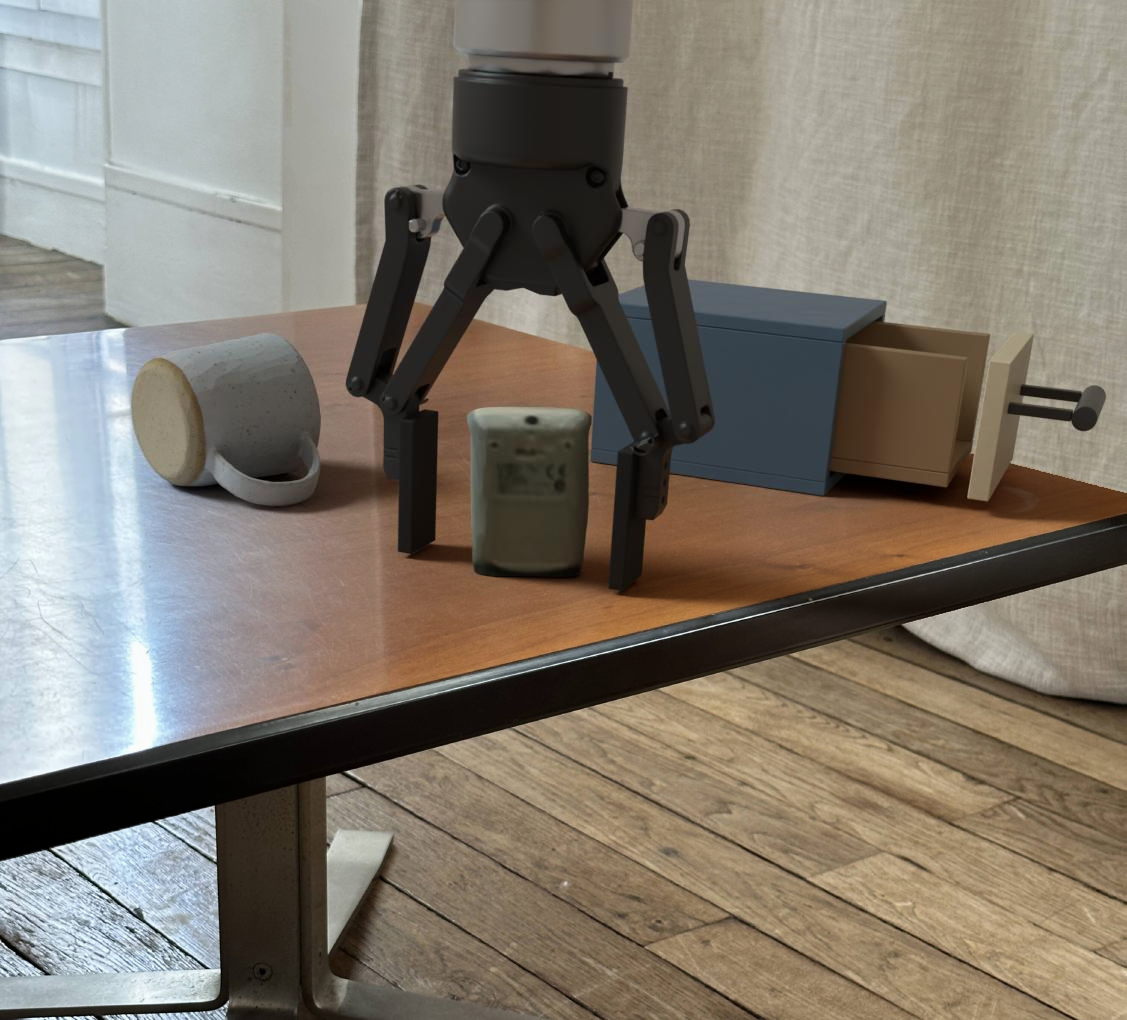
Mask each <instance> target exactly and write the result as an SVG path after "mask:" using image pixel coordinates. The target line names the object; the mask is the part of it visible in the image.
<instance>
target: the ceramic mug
mask: <svg viewBox="0 0 1127 1020" xmlns="http://www.w3.org/2000/svg"><path fill="white" fill-rule="evenodd" d="M317 391H318V390H317V387H316V385H315V381H314V378H313V376H312V374H311V372H310V368H309V366H308V365H307V364H306V362H305V360H304V358H303V357H302V355H301V354H300V352H299V351H298V350H297V349H296V347H295V346H294V345H293V344H292V343H291V342H290V341H289V340H287V338H285V337H283V336H281V335H280V334H276V333H271V332H262V333H258V334H254V335H253V334H252V335H249V336H243V337H237V338H234V339H228V340H223V341H220V342H219V341H218V342H215V343H210V344H205V345H200V346H195V347H187V348H182V349H176V350H172V351H170V352H167V353H164V354H162V355H159V356H156V357H155V358H151V360H148V361H147V362H146V363H144V364H143V366H141V367H140V368H139V371H138V373H137V374H136V376H135V379H134V382H133V386H132V391H131V397H130V398H131V399H130V412H131V421H132V425H133V431H134V435H135V437H136V440H137V444H138V446H139V448H140V450H141V452H142V455H143V456H144V458H145V460H146V462H147V463H148V465H149V466H150V468H151V469H152V470H153V471H154V472H155V473H156V474H157V475H158V476H160V477H161V478H162V479H163V480H165V481H166V482H167V483H169V484H172V485H174V486H179V487H207V486H212V485H220V486H221V487H222V488H223V489H225V490H227V491H228V492H229V493H231V494H232V495H234V497H236V498H238V499H242V501H243V500H244V501H246V502H248V503H252V504H256V505H262V506H268V507H285V506H291V505H296V504H300V503H302V502H304V501H306V500H307V499H309V498H310V497H311V496H312V495H313V493H314V492H315V490H316V487H317V486H318V482H319V477H320V472H321V463H322V462H321V458H320V453H319V449H318V447H319V442H320V435H321V427H322V426H321V425H322V415H321V407H320V400H319V395H318V392H317ZM304 468H306V469H307V471H308V474H306V475H305V476H304V477H303V478H301V479H298V480H292V481H281V482H280V481H269V480H262V479H258V478H264V477H270V476H277V475H282V474H288V473H295V472H298V471H300V470H302V469H304Z"/></svg>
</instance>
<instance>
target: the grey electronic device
mask: <svg viewBox="0 0 1127 1020" xmlns="http://www.w3.org/2000/svg"><path fill="white" fill-rule="evenodd" d="M466 422H467V426H468V427H467V428H468V429H469V430H468V431H469V433H470V440H469V441H470V453H469V455H470V456H469V457H470V467H469V468H470V472H469V473H470V474H469V475H470V477H469V479H470V480H469V481H470V483H469V484H470V485H469V486H470V519H471V521H470V522H471V540H472V541H471V542H472V554H471V555H472V557H471V558H472V566H473V571H474V572H475V573H476V574H479V575H483V576H490V577H546V578H547V577H550V578H551V577H554V578H569V577H575V576H579V575H580V574H581V573H582V569H583V564H584V556H585V548H586V540H587V529H588V523H589V522H588V521H589V507H590V496H589V495H590V494H589V493H590V492H589V487H590V477H589V476H590V467H589V465H590V464H589V463H590V457H589V455H590V453H589V452H590V449H589V445H590V444H589V441H590V437H589V436H590V430H591V429H590V428H591V427H592V425H593V415H591V414H590V413H588V412H587V411H584V410H583V409H579V408H573V407H572V408H571V407H558V406H557V407H553V406H491V407H490V406H489V407H480V408H476V409H473V410H471V411H469V413H468V414H467V415H466Z"/></svg>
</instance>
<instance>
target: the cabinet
mask: <svg viewBox="0 0 1127 1020" xmlns="http://www.w3.org/2000/svg"><path fill="white" fill-rule="evenodd" d="M688 283H689V288H690V294H691V299H692V304H693V309H694V314H695V319H696V324H697V329H698V335H699V340H700V345H701V350H702V355H703V360H704V365H705V371H706V376H707V381H708V386H709V391H710V396H711V401H712V406H713V412H714V417H715V424H714V427H713V429H712V430H711V431H710V432H708V433H707V434H705V435H704V436H702V437H701V438H700V439H698V440H697V441H695V442H693V443H691V444H681V445H677V446H674V448H673V450H672V453H671V464H670V474H671V475H680V476H686V477H693V478H700V479H706V480H714V481H720V482H728V483H733V484H740V485H741V484H742V485H746V486H753V487H760V488H761V487H762V488H768V489H774V490H781V491H788V492H794V493H799V494H800V493H801V494H807V495H814V496H822V497H824V496H825V495H827V494H828V492H829V491H831V490H832V488H834V486H835V485H836V484H837V483H838V482H839V481H841V479H842V478H843V477H844V476H845V475H847V473H842V472H835V471H830V465H831V457H832V449H833V441H834V433H835V424H836V416H837V408H838V400H839V392H840V384H841V376H842V368H843V360H844V352H845V344H846V340H847V339H849V338H850V337H851V336H853V335H854V334H856V333H857V332H859V331H860V330H862V329H863V328H865V327H866V326H867V325H869V324H870V323H872V322H873V321H880V322H886V312H887V305H888V304H887V303H888V302H887V300H883V299H872V298H865V297H864V298H863V297H855V296H844V295H835V294H828V293H827V294H826V293H817V292H809V291H799V290H789V289H779V288H772V287H761V286H754V285H743V284H734V283H725V282H716V281H708V280H707V281H706V280H699V279H698V280H697V279H688ZM618 298H619V302H620V304H621V306H622V308H623V311H624V313H625V315H626V317H627V319H628V322H629V324H630V326H631V328H632V330H633V333H634V335H635V337H636V339H637V342H638V344H639V346H640V348H641V350H642V353H643V355H644V357H645V359H646V361H647V364H648V366H649V368H650V370H651V372H652V375H653V377H654V379H655V381H656V384H657V386H658V388H659V390H660V392H661V395H662V397H663V399H664V401H665V403H666V406H667V408H668V410H669V405H668V400H667V395H666V390H665V385H664V380H663V375H662V370H661V365H660V360H659V355H658V351H657V346H656V341H655V336H654V331H653V326H652V321H651V316H650V311H649V306H648V301H647V296H646V291H645V286H644V284H643V285H641V286H637V287H635V288H632V289H630V290H626V291H624V292H622V293H621V292H620V293H619V296H618ZM595 360H596V361H595V377H594V395H593V411H592V412H593V413H592V424H591V427H592V428H591V441H590V442H591V443H590V457H589V462H592V463H598V464H605V465H612V466H617V455H618V451H619V450H621V449H622V448H624V447H626V446H627V445H629V444H631V443H632V442H634V440H633V437H632V435H631V433H630V431H629V429H628V426H627V424H626V422H625V420H624V418H623V416H622V413H621V411H620V409H619V407H618V405H617V403H616V400H615V398H614V396H613V394H612V392H611V389H610V387H609V385H608V383H607V381H606V379H605V376H604V374H603V372H602V370H601V368H600V365H599V363H598V361H597V359H595ZM669 412H670V410H669Z"/></svg>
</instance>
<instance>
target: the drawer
mask: <svg viewBox="0 0 1127 1020" xmlns="http://www.w3.org/2000/svg"><path fill="white" fill-rule="evenodd" d="M1034 337H1035V334H1034V333H1032V332H1022V331H1014V332H1013V333H1012V334H1011V335H1010V336H1009V337H1008V339H1006V341H1005V342H1004V343H1003V345H1002V346H1001V347H1000V348H999V349H998V350H997V352H996V353H995V354H994V355H993V356H992V357H991V359H990V360H989V362H988V368H987V374H986V380H985V385H984V386H985V387H984V392H983V397H982V404H981V410H980V416H979V422H978V429H977V436H976V441H975V448H974V454H973V459H972V465H971V472H970V478H969V484H968V490H967V499H968V500H974V501H982V502H989V501H990V499H991V497H992V496H993V494H994V492H995V491H996V488H997V487H998V485H999V484H1000V481H1001V480H1002V478H1003V477H1004V475H1005V473H1006V471H1007V469H1008V468H1009V466H1010V464H1011V462H1012V461H1013V459H1014V454H1015V447H1016V442H1017V436H1018V430H1019V424H1020V418H1021V417H1030V418H1039V419H1046V420H1052V421H1061V422H1069V423H1071V425H1072V426H1073V428H1074V429H1075V430H1077V431H1079V432H1088V431H1091V430H1092V429H1093V428H1095V426H1096V425H1097V423H1098V420H1099V417H1100V415H1101V413H1102V410H1103V407H1104V406H1105V403H1106V400H1107V393H1106V391H1105V390H1104V388H1103V387H1101V386H1099V385H1095V384H1094V385H1089V386H1087V387H1086V388H1085V389H1084V390H1083V391H1081V390H1074V389H1067V388H1059V387H1050V386H1049V387H1048V386H1043V385H1033V384H1026V383H1027V378H1028V371H1029V367H1030V360H1031V356H1032V349H1033V344H1034ZM990 339H991V334H990V333H985V332H976V331H969V330H959V329H950V328H943V327H942V328H941V327H932V326H923V325H915V324H905V323H896V322H887V321H884V322H880V321H873V322H872V323H870V324H869V325H867V326H866V327H865V328H863V329H862V330H860V331H859V332H857V333H856V334H854V335H853V336H851V337H850V338H849V339H847V340H846V344H845V352H844V360H843V368H842V376H841V384H840V392H839V400H838V408H837V416H836V424H835V433H834V441H833V449H832V457H831V465H830V471H835V472H842V473H846V474H850V475H856V476H864V477H870V478H877V479H885V480H891V481H899V482H905V483H912V484H920V485H927V486H933V487H939V488H948V486H949V484H951V482H952V480H953V479H954V477H955V476H956V474H958V472H959V470H961V469H960V468H961V467H962V466H963V464H964V463H965V461H966V460H967V459H968V457H969V456H970V454H971V453H972V451H973V443H974V438H975V434H976V433H975V431H976V426H977V420H978V414H979V408H980V401H981V395H982V389H983V382H984V376H985V370H986V364H987V357H988V351H989V345H990ZM1024 397H1031V398H1039V399H1044V400H1045V399H1047V400H1055V401H1063V402H1069V403H1070V402H1071V403H1077V404H1076V406H1075V408H1074V410H1073V409H1071V408H1063V407H1056V406H1048V405H1040V404H1032V403H1023V402H1024V401H1023V400H1024Z"/></svg>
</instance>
